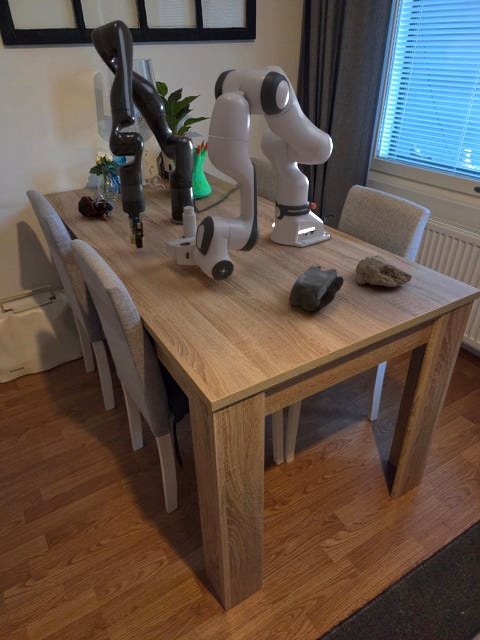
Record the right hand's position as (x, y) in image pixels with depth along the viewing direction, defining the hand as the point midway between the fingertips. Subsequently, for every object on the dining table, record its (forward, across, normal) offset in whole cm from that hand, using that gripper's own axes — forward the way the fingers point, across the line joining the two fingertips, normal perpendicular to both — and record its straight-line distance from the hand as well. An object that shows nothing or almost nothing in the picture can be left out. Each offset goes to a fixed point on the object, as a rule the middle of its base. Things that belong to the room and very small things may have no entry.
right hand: (189, 236), depth 151 cm
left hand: (+10, +16, +4) cm, 19 cm away
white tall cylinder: (-1, 0, +7) cm, 7 cm away
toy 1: (+53, +23, +7) cm, 58 cm away
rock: (-46, -22, +7) cm, 51 cm away
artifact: (-42, -47, +7) cm, 63 cm away
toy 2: (+69, -24, +7) cm, 73 cm away
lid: (+10, +16, +1) cm, 19 cm away
